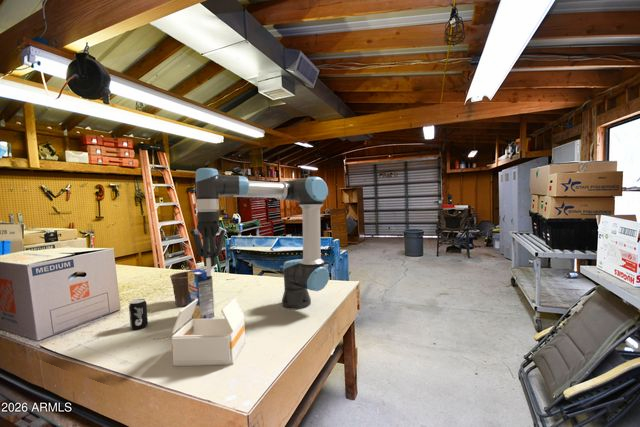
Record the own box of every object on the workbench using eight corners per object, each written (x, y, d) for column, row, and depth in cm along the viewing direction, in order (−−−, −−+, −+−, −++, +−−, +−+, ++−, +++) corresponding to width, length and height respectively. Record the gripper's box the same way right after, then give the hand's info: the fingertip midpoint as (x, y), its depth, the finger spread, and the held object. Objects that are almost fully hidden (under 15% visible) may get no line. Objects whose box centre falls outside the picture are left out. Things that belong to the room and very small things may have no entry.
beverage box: (200, 321, 128) (197, 274, 127) (190, 316, 135) (187, 271, 135) (214, 317, 133) (211, 271, 132) (203, 311, 141) (201, 268, 140)
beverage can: (151, 324, 127) (149, 298, 127) (137, 331, 121) (135, 304, 120) (140, 323, 129) (139, 297, 129) (126, 329, 123) (125, 302, 123)
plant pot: (190, 296, 166) (189, 269, 165) (210, 299, 159) (208, 271, 158) (165, 306, 151) (163, 276, 150) (185, 310, 144) (183, 279, 143)
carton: (246, 342, 107) (244, 316, 107) (232, 366, 92) (230, 336, 91) (194, 343, 108) (192, 318, 107) (171, 367, 92) (170, 337, 92)
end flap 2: (244, 316, 105) (234, 297, 105) (233, 331, 93) (222, 309, 93) (243, 316, 105) (233, 297, 105) (231, 331, 93) (221, 310, 93)
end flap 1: (191, 318, 106) (198, 298, 105) (172, 333, 93) (181, 311, 93) (189, 317, 106) (197, 298, 105) (171, 332, 93) (179, 311, 93)
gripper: (229, 210, 105) (231, 272, 106) (195, 211, 106) (198, 273, 107) (221, 210, 98) (223, 277, 99) (185, 211, 99) (187, 278, 99)
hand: (210, 275), depth 103 cm, fingers closed
